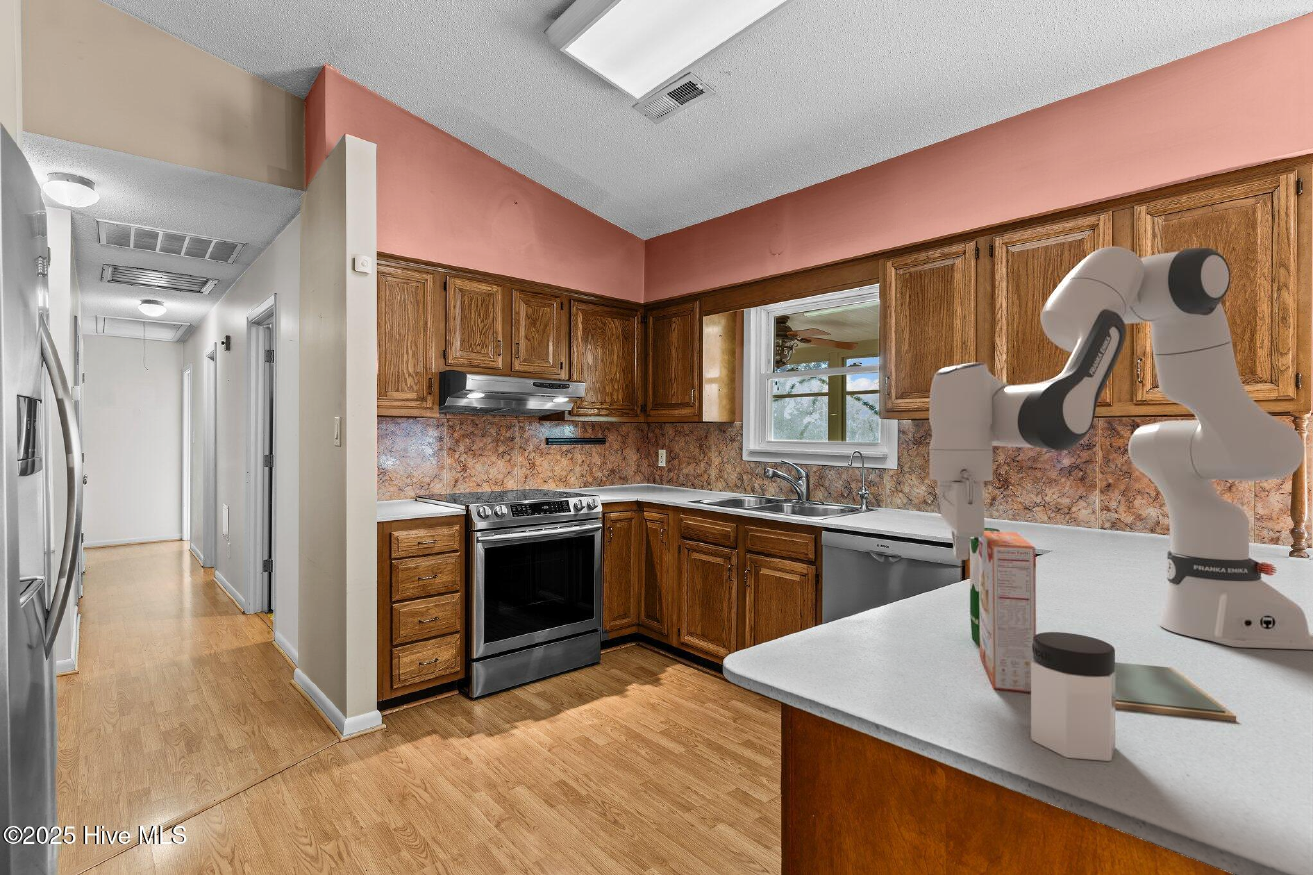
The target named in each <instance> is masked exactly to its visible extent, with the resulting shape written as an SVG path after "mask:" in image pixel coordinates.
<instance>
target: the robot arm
mask: <svg viewBox="0 0 1313 875" xmlns="http://www.w3.org/2000/svg"><path fill="white" fill-rule="evenodd" d="M1230 285H1231V269H1230V267H1229V264H1228V262H1227V260H1226V258H1225V257H1224V256H1223V255H1222V254H1221V253H1219V252H1218V251H1216V250H1215V249H1213V248H1211V247H1191V248H1183V249H1182V250H1179V251H1172V252H1165V253H1158V254H1153V255H1152V254H1151V255H1148V256H1144V257H1140V256H1139V255H1138V254H1137V253H1135V252H1133V251H1132V250H1131V249H1128V248H1126V247H1121V246H1114V245H1113V246H1106V247H1101V248H1099V249H1096V250H1094V251H1093V252H1091V253H1090V254H1088V255H1087V256H1086V257H1085V258H1083V259H1082V260H1081V261H1080V262H1079V263H1078V264H1077V265H1075V267H1074V268H1073V269H1071V270H1070V271H1069V272H1068V274H1066V276H1065V277H1064V278H1063V279H1062V281H1061V282H1060V283H1058V285H1057V287H1056V288H1055V289H1054V290H1053V292H1052V293H1051V294H1050V296H1049V297H1048V298H1047V300H1046V302H1045V304H1044V305H1043V307H1042V310H1041V313H1040V322H1041V323H1040V324H1041V328H1042V330H1043V332H1044V334H1045V335H1046V338H1048V339H1049V340H1050V341H1051V342H1052V343H1053V344H1055V346H1057V347H1058V348H1060V349H1062V350H1064V351H1066V352H1069V353H1071V354H1070V356H1069V358H1068V360H1067V362H1066V364H1065V365H1064V368H1063V370H1062V372H1061V373H1060V374H1058V375H1057V376H1055V377H1053V378H1051V379H1047V380H1045V381H1041V382H1035V383H1024V384H1010V385H1009V383H1007V382H1005V381H1002V380H1001V379H998V378H997V377H996V376H994V375H993V374H992V373H991V372H990V371H989V368H988V365H987V364H986V363H983V362H977V361H976V362H969V363H962V364H957V365H956V364H955V365H950V366H945V367H943V368H941V369H939V370H937V371H936V372H935V373H934V375H933V378H932V380H931V386H930V392H929V403H928V404H929V406H928V408H929V411H928V413H929V414H928V418H929V419H928V422H929V425H930V429H931V440H930V442H929V443H930V444H929V450H928V451H929V452H928V453H929V479H931V480H935V481H936V485H937V496H938V504H939V510H940V511H939V512H940V517H941V520H943V522H944V523H945V524H946V525H947V526H948V527H949V529H951V532H950V533H951V538H952V545H953V546H952V552H953V556H955V559H957V560H958V561H959V560H962V561H966V560H968V559H970V540H971V538H974V537H982V536H983V534H984V528H985V503H984V492H983V491H984V482H989V481H993V479H994V476H993V475H994V472H993V471H994V470H993V469H994V468H993V467H994V466H993V465H994V464H993V460H994V459H993V458H994V457H993V449H994V448H993V447H1012V448H1014V447H1015V448H1037V449H1044V450H1051V451H1052V450H1053V451H1067V450H1070V449H1072V448H1074V447H1076V446H1077V445H1079V443H1081V442H1082V441H1083V440H1084V439H1085V438H1086V437H1087V435H1088V434H1089V433H1090V431H1091V429H1092V427H1093V424H1094V421H1095V416H1096V415H1095V414H1096V412H1097V410H1096V409H1097V406H1098V403H1099V400H1100V398H1101V396H1102V394H1103V391H1104V389H1105V387H1106V385H1107V383H1108V381H1109V378H1110V376H1111V375H1112V373H1113V371H1114V368H1115V366H1116V364H1117V361H1118V359H1119V358H1120V355H1121V352H1122V351H1123V348H1124V345H1125V342H1126V338H1127V327H1126V325H1127V324H1128V325H1129V324H1141V323H1150V340H1151V348H1152V353H1153V354H1152V355H1153V359H1154V366H1155V371H1156V377H1157V382H1158V383H1157V384H1158V389H1159V390H1160V393H1161V394H1162V395H1163V397H1164V398H1166V399H1167V400H1169V401H1171V402H1173V403H1175V404H1178V405H1181V406H1183V407H1184V408H1186V409H1188V410H1189V411H1190V412H1191V413H1192V414H1193V415H1194V416H1195V418H1196V419H1189V420H1186V419H1183V420H1179V419H1178V420H1165V421H1158V422H1154V423H1149V424H1144V425H1141V426H1139V427H1138V428H1137V429H1136V430H1134V432H1133V433H1132V435H1131V437H1130V438H1129V440H1128V444H1127V445H1128V446H1127V451H1128V457H1129V459H1130V461H1131V463H1132V464H1133V466H1134V467H1135V468H1136V469H1137V470H1138V471H1140V472H1141V473H1142V474H1144V475H1145V476H1146V477H1147V478H1148V479H1150V480H1151V481H1152V483H1153V484H1154V485H1155V487H1157V489H1158V491H1159V492H1160V495H1161V496H1162V498H1163V501H1164V502H1165V505H1166V509H1167V514H1168V524H1169V542H1170V543H1169V546H1170V549H1169V551H1167V554H1166V555H1167V558H1166V559H1167V560H1166V566H1165V568H1166V577H1167V578H1166V579H1167V581H1168V588H1167V593H1166V599H1165V604H1164V607H1163V611H1162V615H1161V617H1160V620H1159V622H1158V625H1159V626H1160V627H1162V628H1164V629H1165V630H1168V631H1170V632H1173V633H1176V634H1180V635H1184V636H1188V637H1190V638H1197V639H1200V640H1204V641H1205V640H1206V641H1209V642H1210V641H1211V642H1213V643H1217V644H1221V645H1225V646H1229V647H1234V648H1257V649H1281V650H1282V649H1286V650H1289V649H1290V650H1313V633H1312V632H1310V631H1309V630H1310V629H1309V625H1308V620H1307V616H1306V615H1305V612H1304V610H1303V608H1301V606H1300V605H1298V604H1297V603H1296V602H1294V601H1293V600H1292V599H1290V598H1289V597H1287V596H1286V595H1285V594H1283V593H1281V592H1280V591H1278V590H1277V589H1276V588H1274V587H1273V586H1271V585H1270V584H1268V583H1267V582H1266V581H1263V580H1262V575H1263V574H1264V575H1266V576H1269V577H1270V576H1274V575H1275V574H1276V573H1277V572H1276V571H1277V568H1276V566H1275V565H1274V564H1271V563H1268V562H1264V561H1263V562H1259V561H1257V560H1255V559H1254V558H1253V559H1252V558H1251V557H1250V520H1249V518H1248V516H1247V514H1246V513H1245V511H1244V510H1243V509H1242V508H1240V507H1239V506H1238V505H1236V504H1235V503H1232V502H1230V501H1228V500H1226V499H1224V498H1223V497H1222V496H1221V495H1220V494H1219V493H1218V492H1217V490H1216V488H1215V486H1214V484H1213V481H1214V480H1216V481H1217V480H1218V481H1234V482H1237V481H1239V482H1250V483H1251V482H1263V481H1271V480H1278V479H1285V478H1289V476H1291V475H1292V474H1294V473H1295V472H1296V471H1297V469H1298V468H1299V467H1300V466H1301V464H1302V462H1303V460H1304V456H1305V444H1304V441H1303V439H1302V438H1301V437H1302V436H1300V434H1299V432H1298V430H1297V431H1296V430H1295V429H1294V428H1293V427H1292V426H1291V425H1290V424H1288V423H1286V422H1283V421H1282V420H1280V419H1277V418H1276V417H1274V416H1273V415H1271V414H1270V413H1269V412H1267V411H1265V410H1264V409H1263V408H1262V407H1261V406H1260V405H1258V404H1257V402H1256V401H1254V400H1253V397H1251V395H1250V394H1249V393H1248V392H1247V390H1246V389H1245V387H1244V385H1243V382H1242V380H1241V377H1240V374H1239V370H1238V366H1237V361H1236V357H1235V352H1234V346H1233V341H1232V340H1233V339H1232V335H1231V329H1230V326H1229V322H1228V319H1227V315H1226V313H1225V310H1224V307H1223V305H1222V301H1223V300H1224V298H1225V297H1226V295H1227V293H1228V291H1229V289H1230Z"/></svg>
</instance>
